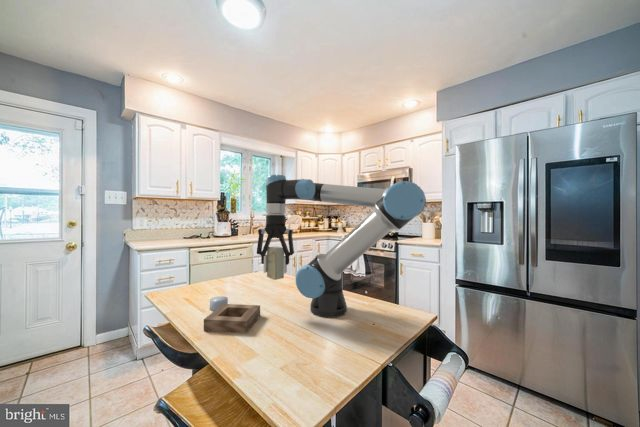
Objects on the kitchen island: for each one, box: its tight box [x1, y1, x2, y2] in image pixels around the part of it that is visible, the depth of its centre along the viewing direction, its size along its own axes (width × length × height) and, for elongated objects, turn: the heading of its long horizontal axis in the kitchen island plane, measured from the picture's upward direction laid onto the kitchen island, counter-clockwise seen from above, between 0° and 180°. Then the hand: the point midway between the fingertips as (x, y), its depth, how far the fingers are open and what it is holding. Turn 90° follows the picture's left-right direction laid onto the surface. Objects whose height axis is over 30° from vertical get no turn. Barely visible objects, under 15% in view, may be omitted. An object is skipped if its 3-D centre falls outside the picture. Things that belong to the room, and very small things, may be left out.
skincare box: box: [266, 245, 285, 281], centre depth 105 cm, size 6×4×12 cm
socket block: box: [203, 303, 261, 334], centre depth 97 cm, size 15×15×4 cm
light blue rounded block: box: [209, 295, 229, 312], centre depth 111 cm, size 7×7×4 cm
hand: (275, 272), depth 105 cm, fingers closed on skincare box, 7 cm apart
